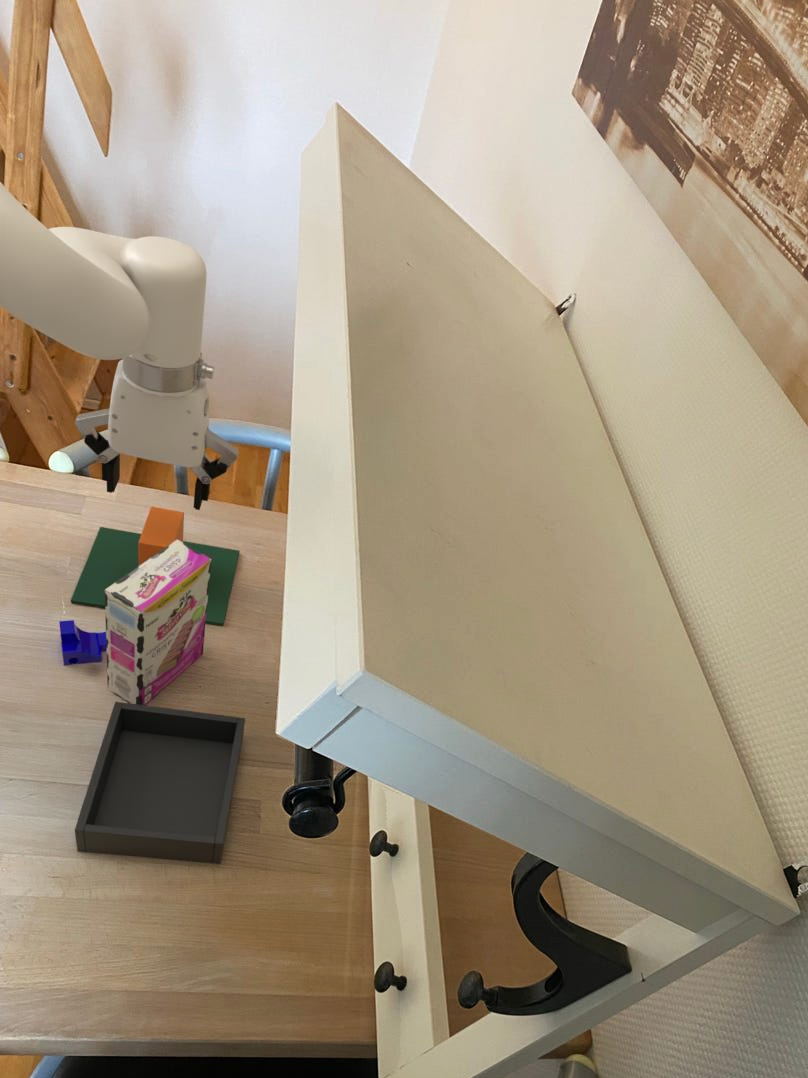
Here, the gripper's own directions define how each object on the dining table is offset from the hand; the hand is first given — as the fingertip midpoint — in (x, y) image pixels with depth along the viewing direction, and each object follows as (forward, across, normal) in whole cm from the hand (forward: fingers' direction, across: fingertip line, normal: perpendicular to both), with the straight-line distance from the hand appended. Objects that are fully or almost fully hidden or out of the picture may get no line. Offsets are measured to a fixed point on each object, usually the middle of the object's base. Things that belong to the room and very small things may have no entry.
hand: (156, 494), depth 100 cm
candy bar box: (+14, -4, +16) cm, 21 cm away
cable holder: (+14, +3, +14) cm, 20 cm away
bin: (+14, -8, +32) cm, 35 cm away
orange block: (+13, -1, -1) cm, 13 cm away
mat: (+14, -1, 0) cm, 14 cm away
